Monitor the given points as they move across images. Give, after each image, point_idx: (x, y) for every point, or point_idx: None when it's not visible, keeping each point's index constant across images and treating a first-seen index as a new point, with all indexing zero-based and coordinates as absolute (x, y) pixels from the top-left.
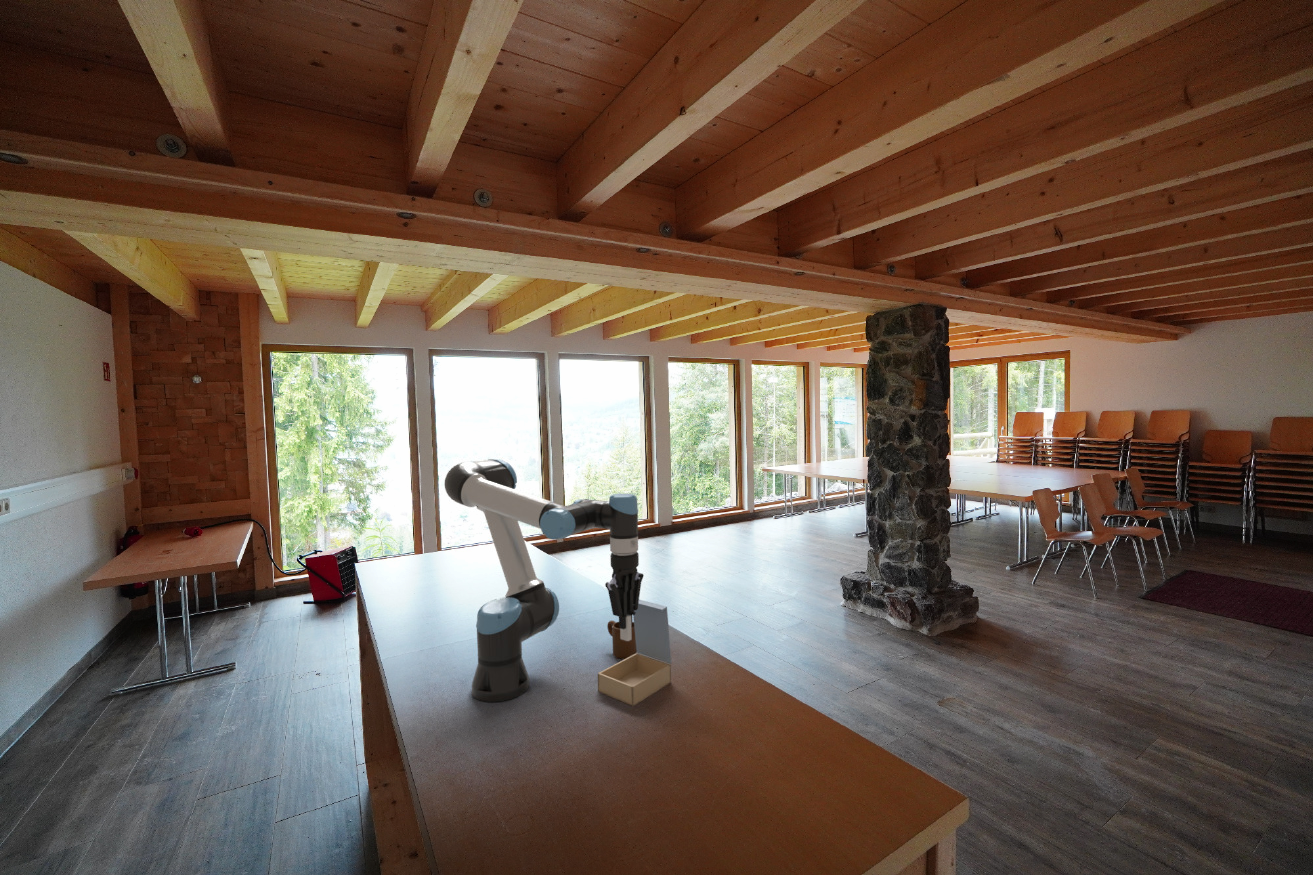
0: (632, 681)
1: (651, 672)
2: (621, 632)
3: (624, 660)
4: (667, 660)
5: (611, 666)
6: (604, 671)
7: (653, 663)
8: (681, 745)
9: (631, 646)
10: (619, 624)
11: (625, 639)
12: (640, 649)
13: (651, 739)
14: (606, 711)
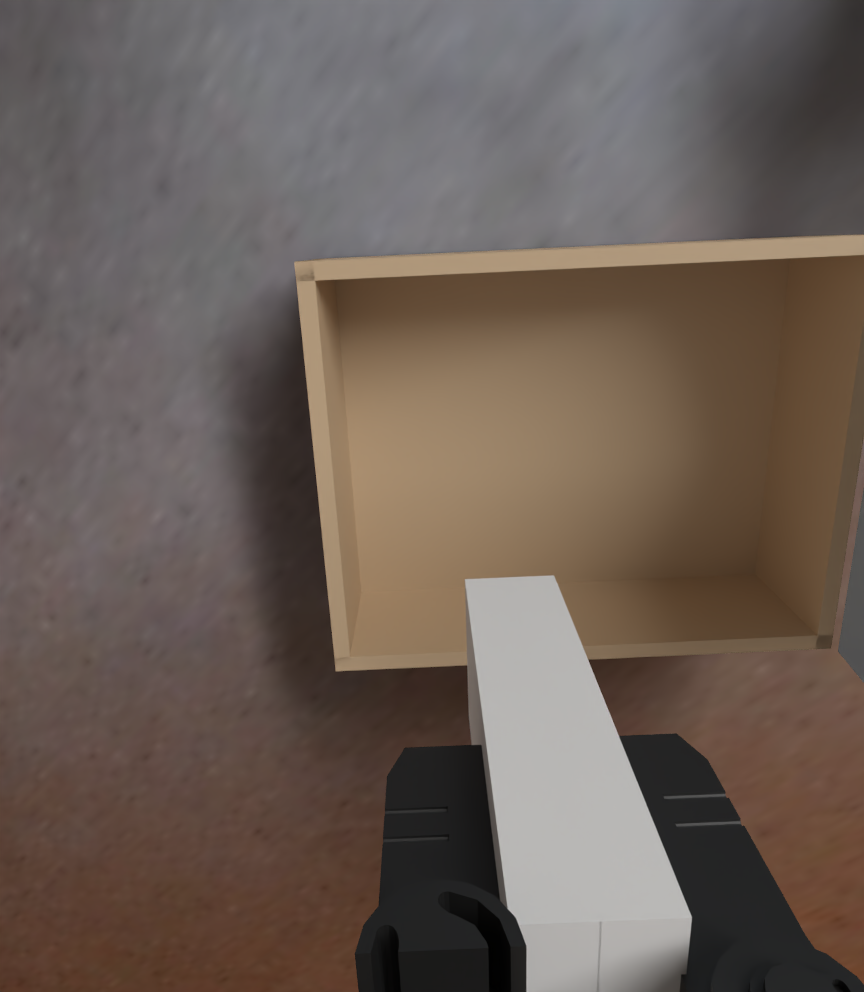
0: (599, 374)
1: (781, 423)
2: (472, 662)
3: (678, 262)
4: (853, 630)
5: (491, 259)
6: (376, 276)
7: (821, 469)
8: (258, 976)
9: None
10: (388, 821)
11: (469, 683)
12: None
13: (188, 867)
14: (184, 516)
